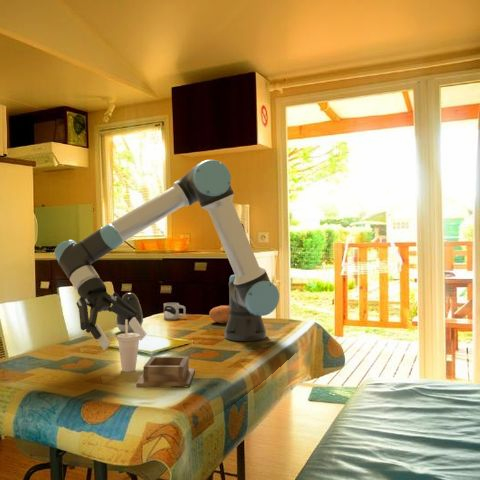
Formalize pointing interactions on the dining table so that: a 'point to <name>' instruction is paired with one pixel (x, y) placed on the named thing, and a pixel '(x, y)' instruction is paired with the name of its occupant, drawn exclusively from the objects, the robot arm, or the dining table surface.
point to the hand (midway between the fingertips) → (126, 342)
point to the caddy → (166, 372)
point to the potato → (220, 314)
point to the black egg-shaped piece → (120, 321)
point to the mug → (173, 311)
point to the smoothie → (128, 349)
